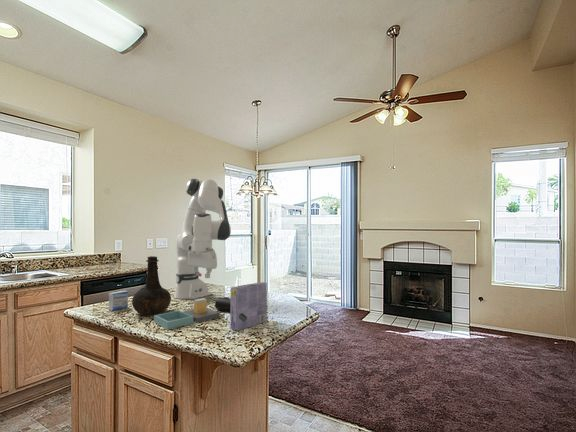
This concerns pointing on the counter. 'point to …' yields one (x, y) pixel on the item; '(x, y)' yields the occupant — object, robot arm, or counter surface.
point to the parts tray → (173, 319)
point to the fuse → (200, 306)
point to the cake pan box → (248, 305)
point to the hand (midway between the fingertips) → (202, 276)
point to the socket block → (203, 315)
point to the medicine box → (118, 300)
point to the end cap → (223, 304)
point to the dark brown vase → (151, 292)
